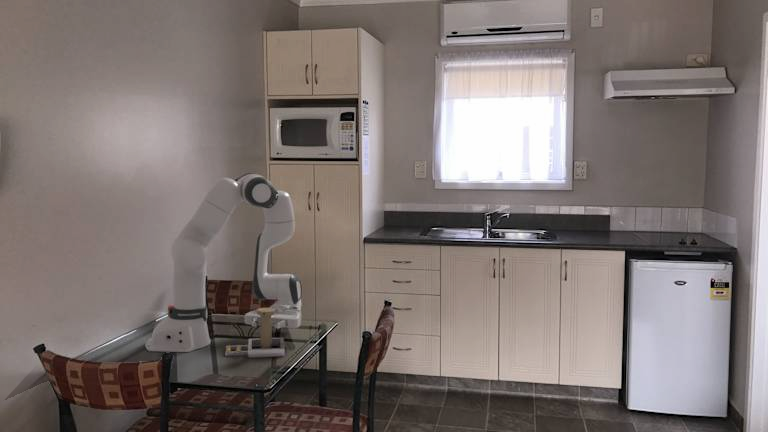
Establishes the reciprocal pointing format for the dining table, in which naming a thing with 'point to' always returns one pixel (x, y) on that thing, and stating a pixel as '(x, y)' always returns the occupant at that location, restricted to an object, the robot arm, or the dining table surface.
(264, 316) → the handle
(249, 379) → the dining table surface
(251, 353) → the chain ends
